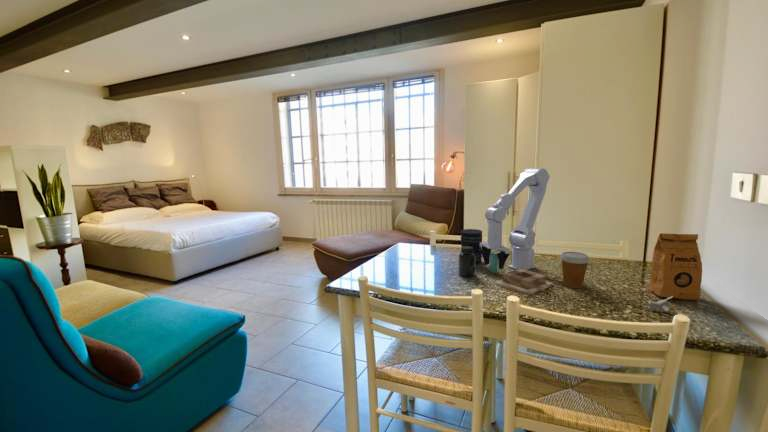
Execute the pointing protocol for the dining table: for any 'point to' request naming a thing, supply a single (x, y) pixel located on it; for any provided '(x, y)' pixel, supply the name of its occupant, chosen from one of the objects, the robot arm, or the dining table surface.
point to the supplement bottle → (467, 262)
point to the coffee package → (676, 267)
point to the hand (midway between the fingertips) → (493, 266)
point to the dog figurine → (660, 304)
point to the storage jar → (472, 242)
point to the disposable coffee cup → (574, 268)
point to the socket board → (521, 290)
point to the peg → (493, 263)
